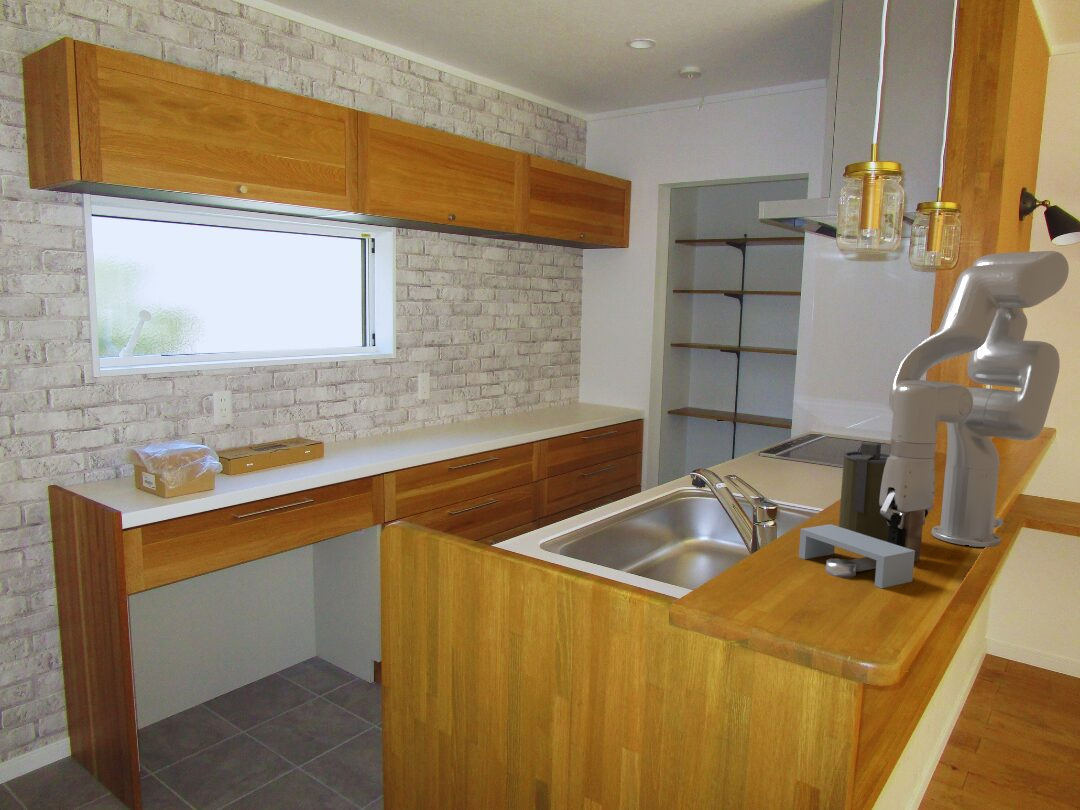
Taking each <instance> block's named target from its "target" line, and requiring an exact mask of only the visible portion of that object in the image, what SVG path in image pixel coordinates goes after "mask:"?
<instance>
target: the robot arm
mask: <svg viewBox="0 0 1080 810" xmlns="http://www.w3.org/2000/svg"><path fill="white" fill-rule="evenodd" d="M1069 271H1070V270H1069V263H1068V261H1067V258H1066V256H1064V254H1063V253H1061V252H1059V251H1054V250H1043V251H1038V250H1037V251H1023V252H1022V251H1021V252H1020V251H1019V252H1017V251H1015V252H998V253H991V254H990V253H989V254H986V255H983V256H980V257H978V258H977V259H975V260H974V262H973V263H972V265H971V266H970V267H968V268H966V269H965V270H963V271H962V272H961V273H960V274H959V276H958V277H957V279H956V283H955V285H954V288H953V291H952V292H951V295H950V298H949V301H948V303H947V306H946V308H945V311H944V314H943V317H942V318H941V322H940V325H939V326H938V329H937V330H936V331H935V332H933V333H932V334H931V335H929V336H927V338H925V339H923V340H922V341H921V342H920V343H918V344H917V345H916V346H915V347H913V348H912V349H911V350H910V351H909V352H908V353H907V354H906V355H905V356H904V358H903V359H902V360H901V362H900V364H899V366H898V368H897V371H896V373H895V376H894V378H893V381H892V383H891V386H890V390H889V394H888V404H889V406H890V407H889V409H891V411H892V423H891V433H890V434H891V436H890V444H889V445H890V446H889V455H890V457H888V458H887V461H886V464H885V468H884V472H883V477H882V483H881V490H880V499H879V505H880V507H882V508H881V510H880V514H882V515H883V516H884V517H885V519H886V520H887V525H889V532H888V542H889V543H892V544H895V545H898V546H902V547H905V537H906V529H905V528H904V524H905V519H906V515H907V512H910V511H916V510H922V509H924V515H923V527H924V525H925V523H926V518H927V517H928V515H929V513H930V512H931V510H932V509H934V499H935V491H936V490H935V487H936V469H935V468H936V467H935V458H936V457H935V456H936V446H937V445H936V444H937V435H938V434H937V433H938V424H939V423H946V432H947V441H946V442H947V447H946V457H945V458H946V459H945V469H944V470H945V471H944V482H943V490H942V491H943V493H942V506H941V516H940V525H935V526H933V527H931V535H932V536H933V537H934V538H936V539H938V540H941V541H943V542H948V543H950V544H951V543H952V544H956V545H960V546H965V545H969V546H968V547H974V548H976V547H977V548H992V547H997V546H999V545H1001V543H1002V539H1001V537H1000V535H998V534H996V533H994V529H995V528H998V527H1002V526H1003V524H1004V520H1003V519H1002V517H995V513H996V501H997V494H998V493H997V492H998V491H997V490H998V482H999V470H1000V453H999V451H998V449H997V447H996V446H995V444H994V443H993V441H992V439H991V437H992V438H993V437H994V438H1000V439H1009V440H1017V441H1033V440H1035V439H1036V438H1037V437H1038V436H1040V434H1041V433H1042V431H1043V429H1044V427H1045V423H1046V420H1047V417H1048V413H1049V409H1050V406H1051V402H1052V399H1053V397H1054V392H1055V389H1056V387H1057V381H1058V377H1059V373H1060V368H1061V367H1060V366H1061V365H1060V363H1061V361H1060V354H1059V352H1058V350H1057V348H1056V347H1055V346H1054V345H1052V344H1051V343H1048V342H1046V341H1040V340H1024V339H1025V335H1026V330H1027V327H1028V318H1027V316H1026V314H1025V312H1024V310H1023V309H1029V308H1033V307H1036V306H1038V305H1039V304H1041V303H1043V302H1045V301H1046V300H1048V299H1049V298H1051V297H1053V296H1055V295H1056V294H1058V293H1059V292H1060V290H1062V289H1063V288H1064V286H1065V284H1066V282H1067V279H1068V277H1069ZM966 354H969V355H968V357H969V358H968V361H967V367H966V372H967V373H966V374H967V376H968V377H969V379H970V380H971V381H972V382H974V383H977V384H982V385H986V386H995V387H1005V388H1019V389H1020V391H1018V390H1005V389H998V388H989V387H988V388H986V387H985V388H984V387H976V386H975V387H970V386H969V387H966V386H963V384H958V383H952V382H944V381H936V380H925V379H924V380H921V378H922V377H923V376H924V374H926V373H927V372H928V371H929V370H930V369H931V368H933V367H935V366H936V365H938V364H940V363H943V362H946V361H949V360H950V359H954V358H956V357H960V356H963V355H966ZM896 507H897V510H896ZM895 514H900V516H899V519H898V517H897V516H896V515H895ZM923 527H922V529H923ZM922 538H923V537H922ZM922 538H921V541H922Z"/></svg>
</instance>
